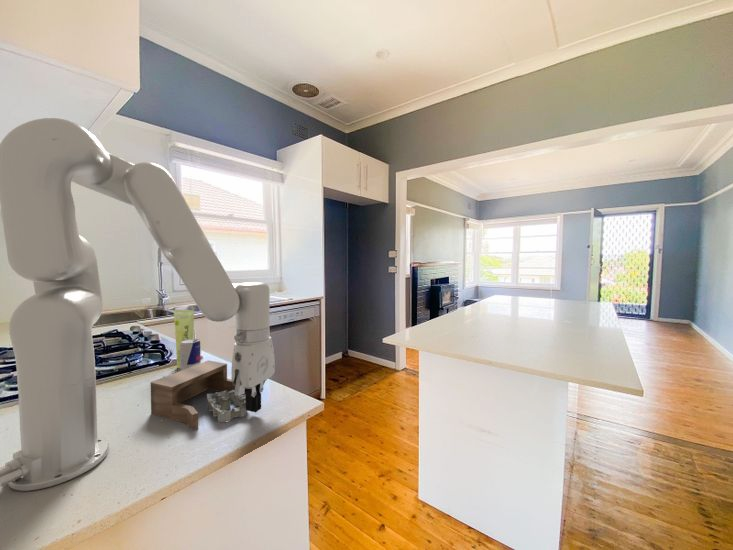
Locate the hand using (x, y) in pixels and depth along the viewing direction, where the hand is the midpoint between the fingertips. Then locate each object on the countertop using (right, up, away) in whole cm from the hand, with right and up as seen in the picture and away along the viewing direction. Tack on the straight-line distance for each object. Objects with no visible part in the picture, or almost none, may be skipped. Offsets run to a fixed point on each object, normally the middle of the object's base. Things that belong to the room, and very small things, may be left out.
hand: (253, 409), depth 72 cm
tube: (-35, +1, +30) cm, 46 cm away
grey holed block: (-7, -2, +2) cm, 8 cm away
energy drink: (-27, 0, +20) cm, 33 cm away
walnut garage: (-14, -1, +5) cm, 15 cm away
